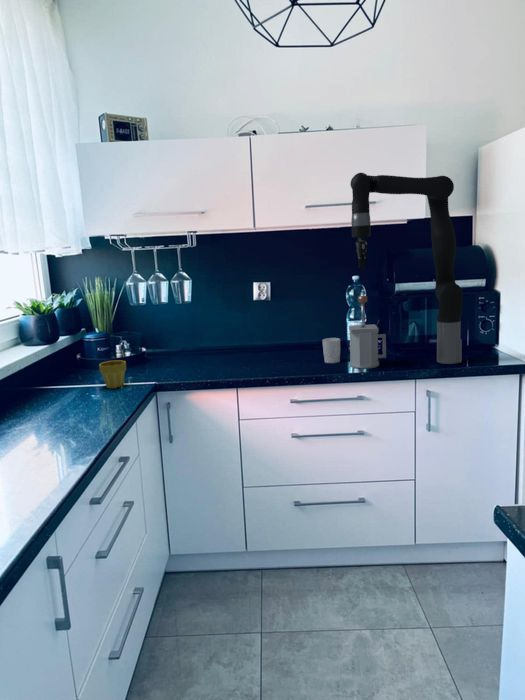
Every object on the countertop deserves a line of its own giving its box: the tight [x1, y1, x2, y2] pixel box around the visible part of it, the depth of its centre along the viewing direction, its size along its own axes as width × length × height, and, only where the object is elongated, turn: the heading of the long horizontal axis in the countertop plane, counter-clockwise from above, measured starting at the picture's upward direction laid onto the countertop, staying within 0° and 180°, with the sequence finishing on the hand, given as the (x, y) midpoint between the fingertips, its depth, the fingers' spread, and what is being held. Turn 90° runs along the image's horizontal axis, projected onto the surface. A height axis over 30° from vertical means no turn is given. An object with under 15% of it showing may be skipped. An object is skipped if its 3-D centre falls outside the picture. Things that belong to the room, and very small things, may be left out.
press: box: [348, 324, 387, 370], centre depth 230 cm, size 15×12×16 cm
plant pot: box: [98, 359, 127, 389], centre depth 221 cm, size 10×10×10 cm
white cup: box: [321, 337, 341, 364], centre depth 242 cm, size 8×8×10 cm
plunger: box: [357, 295, 368, 328], centre depth 228 cm, size 9×9×16 cm
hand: (361, 267), depth 224 cm, fingers closed
